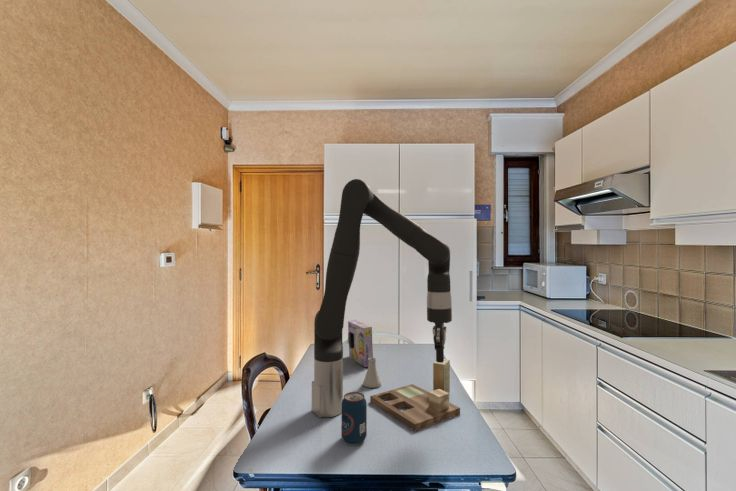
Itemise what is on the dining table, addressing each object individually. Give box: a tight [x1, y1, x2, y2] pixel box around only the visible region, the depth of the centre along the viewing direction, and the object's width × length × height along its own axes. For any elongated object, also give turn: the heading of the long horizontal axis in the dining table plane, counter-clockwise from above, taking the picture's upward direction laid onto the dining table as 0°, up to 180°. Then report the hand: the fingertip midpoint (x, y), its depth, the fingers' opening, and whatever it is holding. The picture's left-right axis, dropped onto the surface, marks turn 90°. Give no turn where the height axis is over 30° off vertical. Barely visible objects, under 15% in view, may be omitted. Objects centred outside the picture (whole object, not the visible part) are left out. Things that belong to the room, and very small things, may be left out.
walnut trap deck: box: [369, 383, 461, 432], centre depth 118 cm, size 19×23×2 cm
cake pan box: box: [347, 319, 374, 368], centre depth 165 cm, size 19×5×18 cm, turn 25°
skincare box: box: [432, 358, 451, 394], centre depth 128 cm, size 6×4×12 cm
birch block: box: [428, 389, 450, 411], centre depth 114 cm, size 4×4×4 cm
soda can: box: [340, 391, 368, 446], centre depth 98 cm, size 7×7×12 cm
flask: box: [362, 357, 382, 389], centre depth 137 cm, size 7×7×10 cm
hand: (440, 361), depth 110 cm, fingers closed
